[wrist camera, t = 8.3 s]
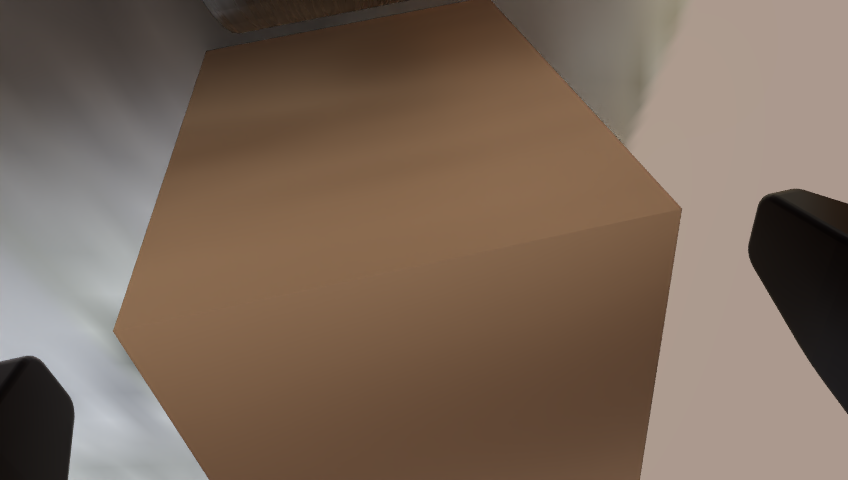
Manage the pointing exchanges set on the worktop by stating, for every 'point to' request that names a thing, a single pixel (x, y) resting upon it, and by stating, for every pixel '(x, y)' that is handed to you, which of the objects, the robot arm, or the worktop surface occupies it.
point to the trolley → (281, 11)
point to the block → (402, 263)
